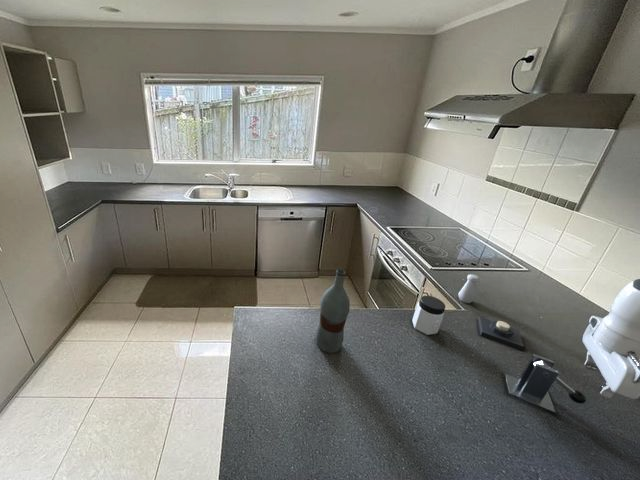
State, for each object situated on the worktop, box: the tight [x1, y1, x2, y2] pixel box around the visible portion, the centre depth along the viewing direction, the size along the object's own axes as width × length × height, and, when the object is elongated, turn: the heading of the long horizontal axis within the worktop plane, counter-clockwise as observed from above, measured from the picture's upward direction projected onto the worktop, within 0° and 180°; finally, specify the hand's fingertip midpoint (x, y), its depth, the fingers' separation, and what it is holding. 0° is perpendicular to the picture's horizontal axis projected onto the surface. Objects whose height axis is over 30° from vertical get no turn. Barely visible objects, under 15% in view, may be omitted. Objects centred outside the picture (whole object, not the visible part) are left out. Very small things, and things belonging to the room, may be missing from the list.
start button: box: [496, 320, 511, 331], centre depth 104 cm, size 4×4×2 cm
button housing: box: [477, 316, 525, 351], centre depth 105 cm, size 12×10×4 cm
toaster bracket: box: [504, 353, 560, 414], centre depth 81 cm, size 10×8×13 cm
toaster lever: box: [533, 360, 587, 404], centre depth 78 cm, size 13×3×3 cm
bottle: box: [315, 268, 351, 354], centre depth 92 cm, size 9×9×30 cm
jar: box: [411, 295, 446, 336], centre depth 106 cm, size 9×8×12 cm
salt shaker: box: [458, 274, 481, 304], centre depth 122 cm, size 6×6×13 cm
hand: (596, 380), depth 73 cm, fingers open, 8 cm apart
